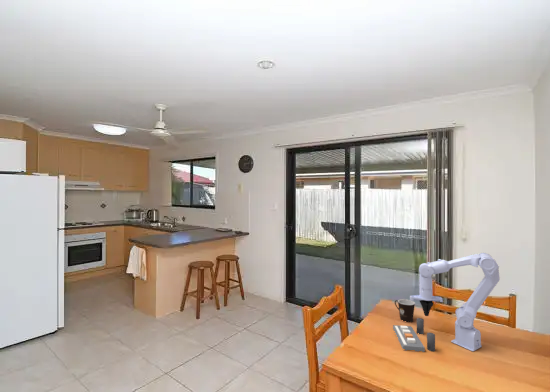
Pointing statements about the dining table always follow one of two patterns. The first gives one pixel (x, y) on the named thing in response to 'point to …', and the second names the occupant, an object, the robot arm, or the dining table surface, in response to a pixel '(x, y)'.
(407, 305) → the coffee mug
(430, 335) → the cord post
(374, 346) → the dining table surface
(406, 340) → the breaker panel
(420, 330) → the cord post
